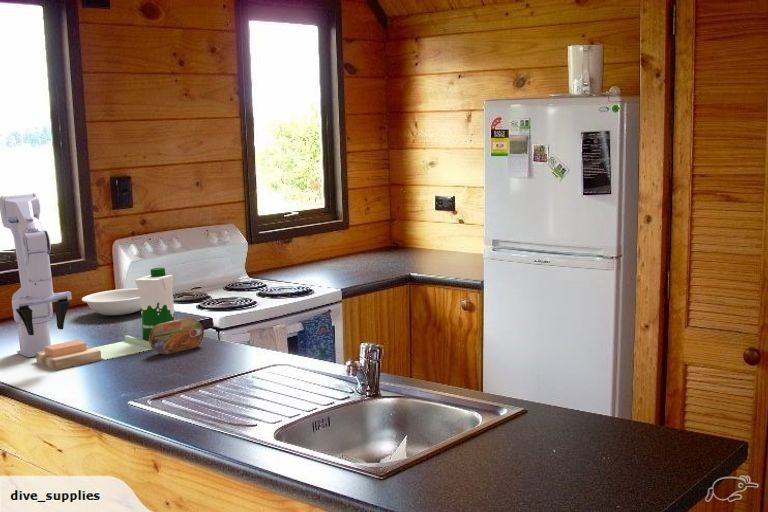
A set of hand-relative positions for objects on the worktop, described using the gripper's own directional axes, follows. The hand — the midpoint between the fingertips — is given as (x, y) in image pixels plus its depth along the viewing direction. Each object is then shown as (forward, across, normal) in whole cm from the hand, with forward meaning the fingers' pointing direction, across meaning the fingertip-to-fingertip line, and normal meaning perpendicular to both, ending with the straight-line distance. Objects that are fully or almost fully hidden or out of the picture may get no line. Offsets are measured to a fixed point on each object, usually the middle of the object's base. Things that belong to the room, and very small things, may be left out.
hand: (45, 331), depth 232 cm
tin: (+10, +31, -11) cm, 34 cm away
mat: (+10, +20, +4) cm, 23 cm away
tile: (+7, +6, +4) cm, 11 cm away
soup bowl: (+11, +45, +54) cm, 71 cm away
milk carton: (+10, +35, +7) cm, 37 cm away
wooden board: (+10, +7, +4) cm, 13 cm away
